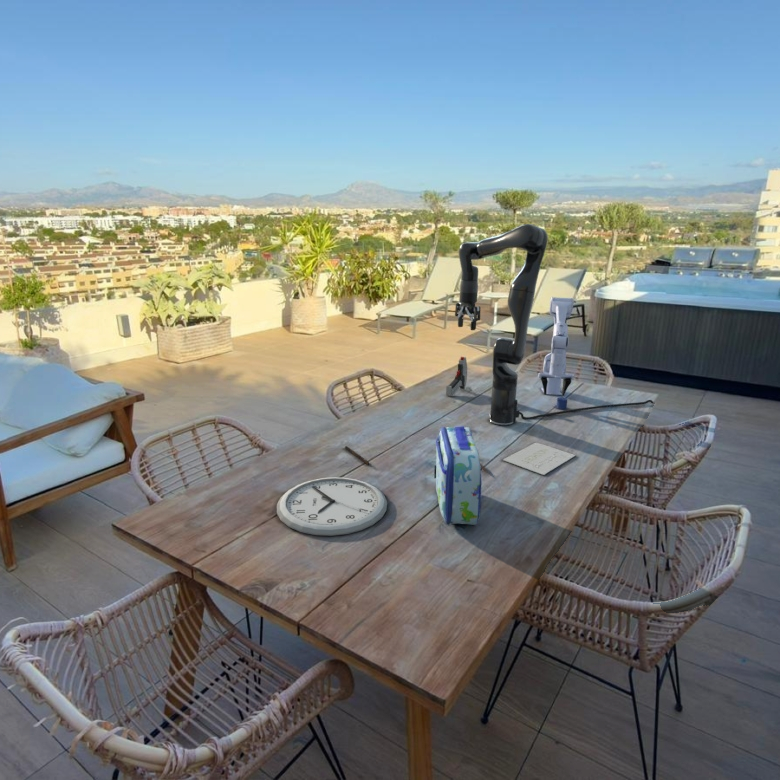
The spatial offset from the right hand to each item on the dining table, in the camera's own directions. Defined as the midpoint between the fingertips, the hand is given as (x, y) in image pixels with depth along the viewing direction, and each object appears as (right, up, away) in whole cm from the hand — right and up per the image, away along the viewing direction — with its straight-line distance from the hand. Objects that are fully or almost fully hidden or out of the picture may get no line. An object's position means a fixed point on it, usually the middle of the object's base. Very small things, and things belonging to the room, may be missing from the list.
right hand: (553, 394), depth 226 cm
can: (+3, -6, -2) cm, 7 cm away
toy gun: (-40, +1, +16) cm, 43 cm away
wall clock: (-87, -30, -83) cm, 123 cm away
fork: (-43, -22, -56) cm, 74 cm away
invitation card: (-21, -21, -51) cm, 59 cm away
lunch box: (-53, -30, -82) cm, 103 cm away
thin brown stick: (-82, -20, -53) cm, 100 cm away
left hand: (-37, +29, +2) cm, 47 cm away
